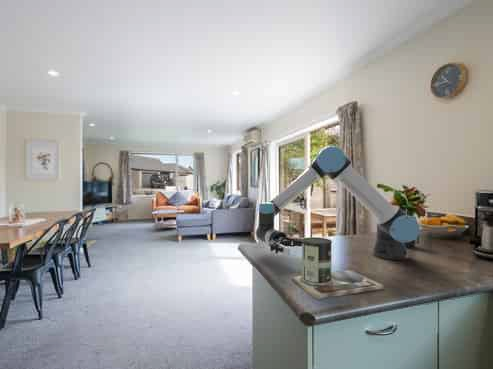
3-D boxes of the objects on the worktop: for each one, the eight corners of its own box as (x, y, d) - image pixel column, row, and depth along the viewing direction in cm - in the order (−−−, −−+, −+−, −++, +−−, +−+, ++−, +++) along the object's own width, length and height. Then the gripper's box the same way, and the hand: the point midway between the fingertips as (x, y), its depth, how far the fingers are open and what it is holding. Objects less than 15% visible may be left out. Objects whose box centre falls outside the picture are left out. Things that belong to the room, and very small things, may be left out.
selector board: (350, 272, 104) (350, 269, 104) (382, 288, 88) (382, 284, 88) (291, 280, 95) (291, 276, 95) (316, 299, 80) (317, 294, 80)
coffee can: (329, 275, 96) (330, 237, 96) (333, 286, 86) (333, 244, 86) (301, 273, 98) (301, 236, 98) (301, 284, 88) (301, 242, 88)
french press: (392, 245, 150) (392, 205, 150) (400, 243, 155) (400, 204, 155) (414, 249, 140) (414, 207, 140) (422, 247, 145) (422, 206, 145)
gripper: (299, 244, 123) (330, 256, 103) (251, 249, 113) (275, 264, 93) (299, 228, 123) (330, 237, 103) (251, 232, 113) (275, 243, 93)
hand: (304, 250), depth 98 cm, fingers open, 13 cm apart
